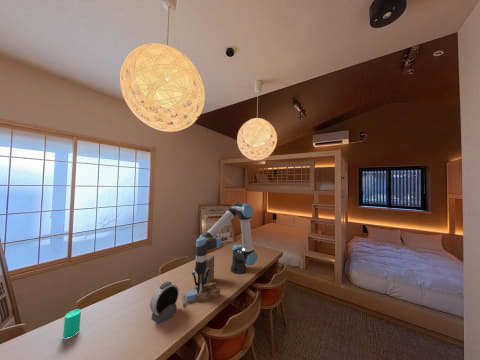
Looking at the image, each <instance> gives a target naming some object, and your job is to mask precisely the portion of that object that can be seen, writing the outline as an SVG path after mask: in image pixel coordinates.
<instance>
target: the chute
mask: <svg viewBox="0 0 480 360" xmlns="http://www.w3.org/2000/svg"><path fill="white" fill-rule="evenodd" d="M194 289H196V290H197V293H198V294H197V300H195V301H191V302H188V303H187V301H186V294H185V295H184V293H181V296H180V297H181V298H180V299H181V303H182V308H185V307H186V306H190V305H193V304H197V303H199V302H203V301H206V300H210V299H214V298H217V297H221V289H220V288H217V282H216V281H214V282H213V281H212V283H209V284H205V285H203V290H202V293H200V294H199V291H198V286H194Z"/></svg>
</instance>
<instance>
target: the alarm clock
mask: <svg viewBox="0 0 480 360" xmlns="http://www.w3.org/2000/svg"><path fill="white" fill-rule="evenodd" d="M179 294H180V290H179V287H178V286H177V285H176V284H174V283H172V282H171V281H165V282H163V283H162V284H161V285H160V286H158V287H157V289H156V290H155V291H153V294H152V296H151V298H150V302H149V308H150V311H151V312H152V314H151V320H152V321H153V322H154V323H156V324H157V325H160V324H162V323H164V322H166V321H168V320H169V319H171V318H172V317H173V316H174V315H175V314H176V313H177V312H178V309H177V307H178V306H177V302H178V299H179Z"/></svg>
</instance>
